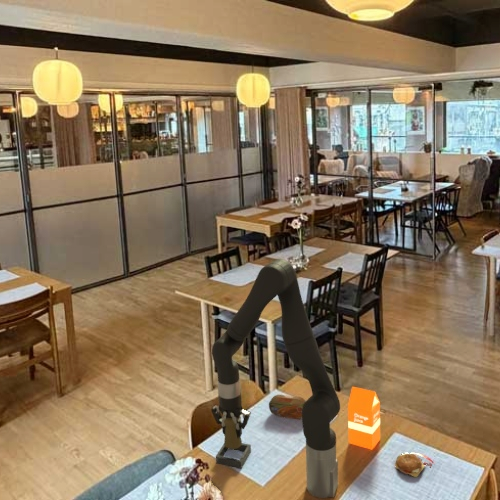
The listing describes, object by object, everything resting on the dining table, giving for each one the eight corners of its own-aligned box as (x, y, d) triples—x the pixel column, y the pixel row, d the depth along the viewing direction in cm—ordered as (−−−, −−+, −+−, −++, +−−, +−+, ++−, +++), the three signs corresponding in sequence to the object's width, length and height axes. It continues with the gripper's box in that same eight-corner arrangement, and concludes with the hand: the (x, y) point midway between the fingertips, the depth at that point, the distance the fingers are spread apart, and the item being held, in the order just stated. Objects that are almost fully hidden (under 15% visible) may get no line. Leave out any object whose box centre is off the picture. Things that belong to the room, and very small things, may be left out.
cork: (242, 438, 189) (241, 410, 185) (240, 449, 183) (239, 421, 180) (225, 437, 189) (223, 410, 186) (223, 449, 184) (220, 421, 180)
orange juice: (357, 432, 199) (356, 382, 194) (380, 439, 194) (380, 387, 189) (348, 443, 192) (347, 391, 188) (372, 450, 187) (371, 396, 183)
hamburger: (426, 489, 170) (427, 473, 168) (385, 470, 179) (385, 455, 177) (443, 464, 180) (444, 449, 178) (404, 447, 189) (404, 433, 187)
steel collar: (251, 452, 190) (250, 444, 189) (241, 469, 182) (240, 461, 181) (226, 447, 194) (226, 439, 193) (216, 463, 185) (215, 456, 184)
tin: (269, 415, 210) (268, 396, 208) (271, 411, 213) (270, 392, 211) (307, 420, 206) (307, 401, 204) (309, 416, 209) (308, 396, 206)
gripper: (205, 394, 179) (208, 438, 184) (245, 401, 174) (248, 446, 179) (214, 382, 186) (217, 425, 191) (253, 388, 181) (256, 432, 186)
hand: (232, 435), depth 185 cm, fingers closed on cork, 4 cm apart
